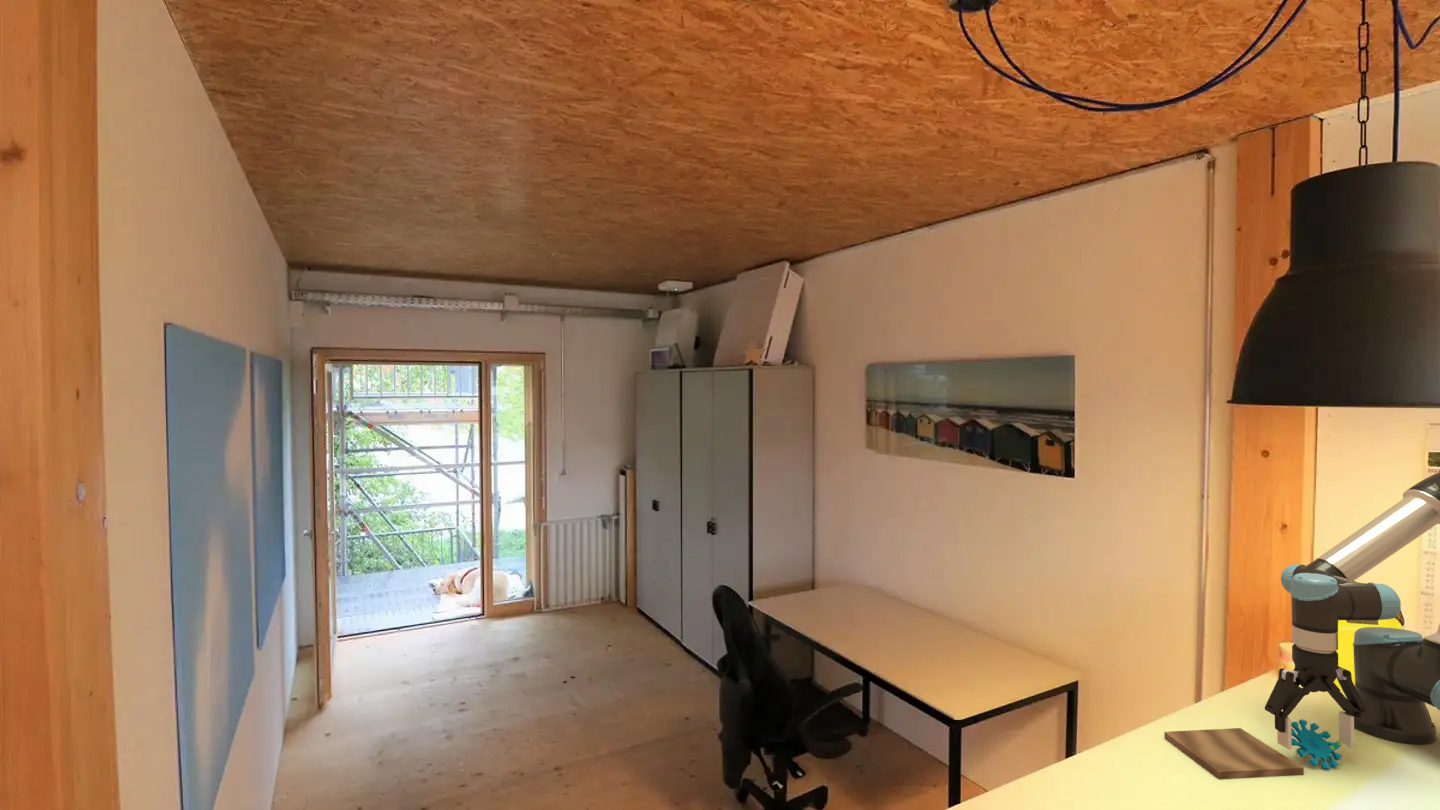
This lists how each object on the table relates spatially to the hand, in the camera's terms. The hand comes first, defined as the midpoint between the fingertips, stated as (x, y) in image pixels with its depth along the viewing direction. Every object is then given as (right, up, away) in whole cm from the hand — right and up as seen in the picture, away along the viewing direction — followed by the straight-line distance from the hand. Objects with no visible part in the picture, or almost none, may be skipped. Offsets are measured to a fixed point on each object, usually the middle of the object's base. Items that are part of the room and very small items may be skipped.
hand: (1315, 745), depth 148 cm
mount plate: (-16, -4, +4) cm, 17 cm away
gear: (+1, -4, 0) cm, 4 cm away
